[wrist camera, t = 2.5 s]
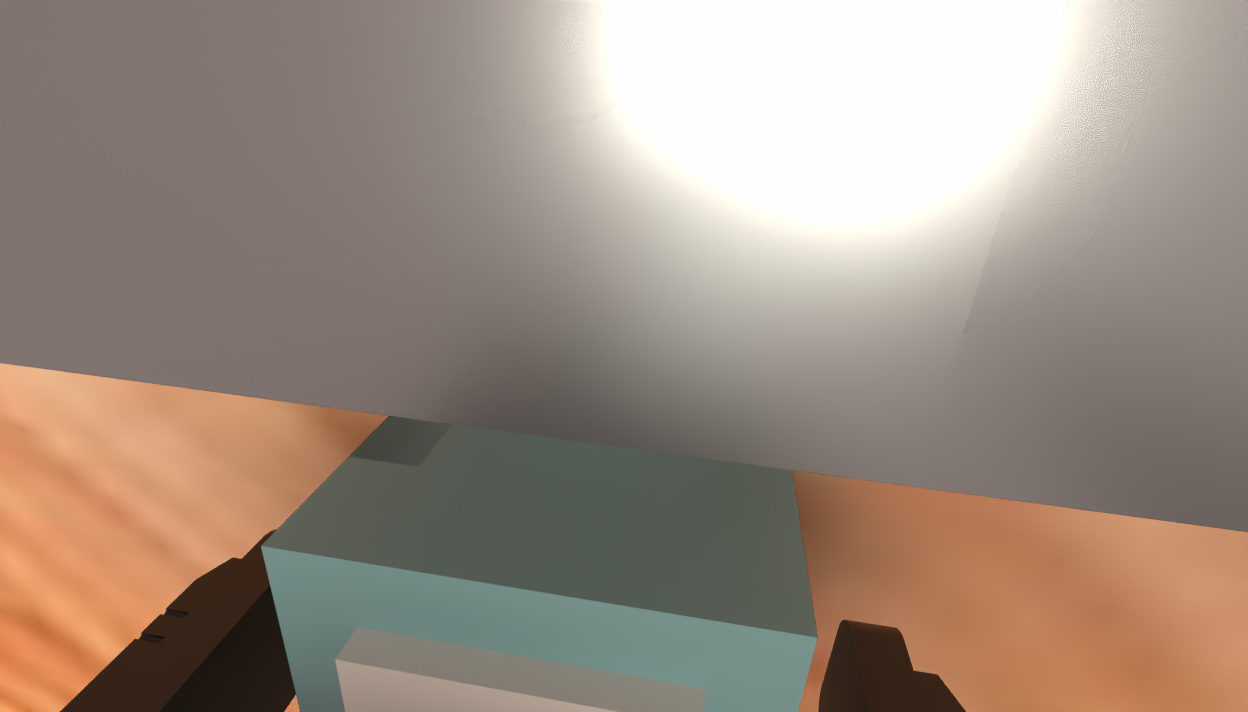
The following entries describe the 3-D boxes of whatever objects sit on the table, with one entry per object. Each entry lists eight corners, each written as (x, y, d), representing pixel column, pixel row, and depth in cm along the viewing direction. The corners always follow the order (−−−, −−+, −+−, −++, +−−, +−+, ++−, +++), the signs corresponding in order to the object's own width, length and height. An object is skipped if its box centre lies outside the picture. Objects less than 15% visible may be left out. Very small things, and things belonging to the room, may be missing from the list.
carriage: (775, 359, 11) (823, 676, 5) (724, 644, 14) (720, 1047, 8) (479, 324, 12) (232, 575, 6) (490, 604, 15) (334, 952, 9)
